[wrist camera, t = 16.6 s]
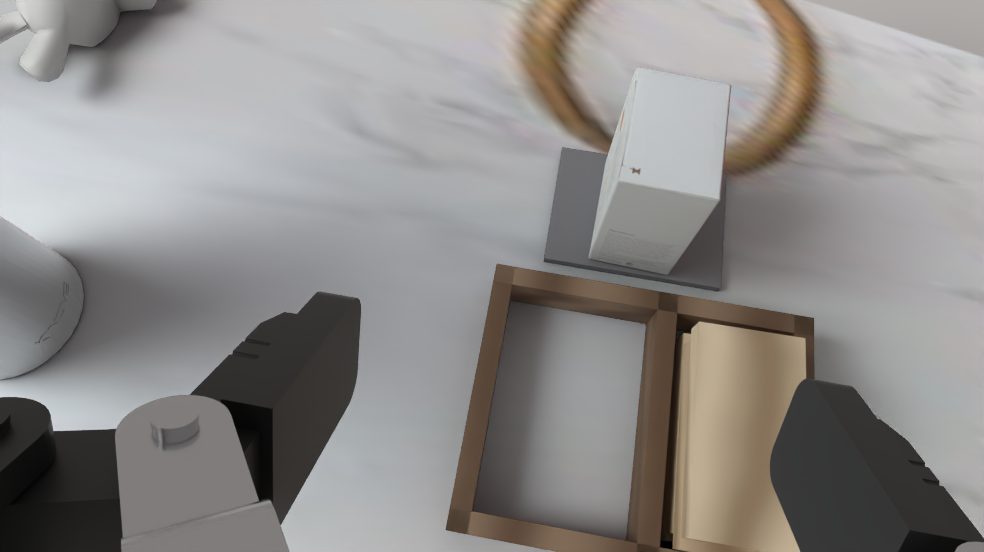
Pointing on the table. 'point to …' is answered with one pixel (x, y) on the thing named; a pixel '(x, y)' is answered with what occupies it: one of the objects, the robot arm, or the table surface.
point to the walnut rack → (654, 400)
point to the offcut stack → (728, 439)
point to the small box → (661, 170)
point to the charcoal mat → (578, 219)
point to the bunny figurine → (62, 29)
